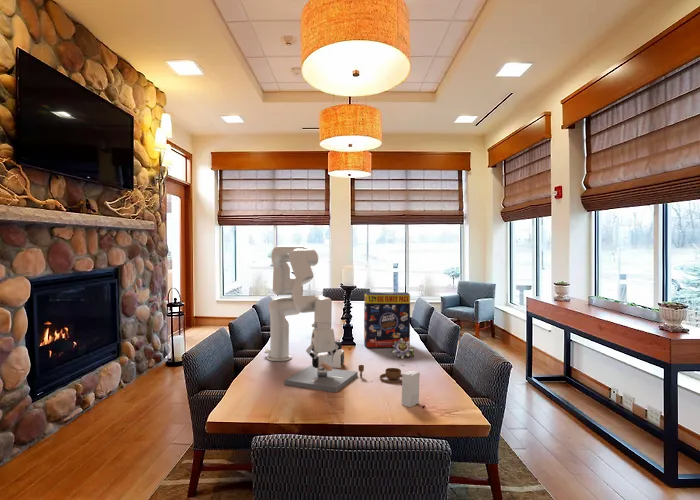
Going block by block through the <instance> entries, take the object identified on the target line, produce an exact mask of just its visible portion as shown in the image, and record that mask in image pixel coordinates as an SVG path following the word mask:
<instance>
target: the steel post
mask: <svg viewBox="0 0 700 500" xmlns="http://www.w3.org/2000/svg"><path fill="white" fill-rule="evenodd" d="M317 376H318V377H327V370H326V369H324V368H321V369H318V368H317Z"/></svg>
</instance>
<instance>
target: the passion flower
mask: <svg viewBox="0 0 700 500" xmlns="http://www.w3.org/2000/svg"><path fill="white" fill-rule="evenodd" d="M409 342H410V343H411V340H410V341H406V342H405V341H404V340H403V339H402V338H400V340H399V341H397V342H395V341H394V343H393V345H392V346H393V347H394V349H392V350H391V351H390V352H391V353H392V354H394V353H396V357H397V358H400V359H401V360H403V359H404V357H405V356H406V357H409V356H410V354H411V357H414V356H415V349H414V348H413V345H412V344H410V345H409ZM394 344H395V345H394Z"/></svg>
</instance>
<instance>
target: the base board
mask: <svg viewBox="0 0 700 500" xmlns="http://www.w3.org/2000/svg"><path fill="white" fill-rule="evenodd" d="M358 372H359V371H354V370H348V369H341V368H332V371H327V377H318V376H317V368H315V367H313V365H310V366H307V367H306V368H304V369H302V370H300V371H299V372H296V373H294V374H292V375H291V376H288V378H284V383H283V384H284V386H293V387H297V388H298V387H299V388H303V389H304V388H305V389H309V390H310V389H311V390H316V391H323V392H330V393H335V392H336V393H338V392H339V391H340V390H341V389H342V388H344V387H345V386H346V385H348V384H349V383H351V381H353V380H355V379H356V378H357V377H358Z"/></svg>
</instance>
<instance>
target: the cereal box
mask: <svg viewBox="0 0 700 500" xmlns="http://www.w3.org/2000/svg"><path fill="white" fill-rule="evenodd" d="M363 311H364V312H363V313H364V314H363V315H364V316H363V328H364V329H363V331H364V332H363V333H364V334H363V341H364V342H363V343H364V344H363V345H364V346H365V348H367V349H383V348H384V349H385V348H386V349H387V348H389V349H391V348H392V349H393V348H394V347H393V346H392V345H393V343H394V341H395V342H397V341H399V340H400V338H402V339H403V340H404V341H405V342H406V341H410V342H409V345H411V344H410V343H411V294H410V293H408V292H400V291H399V292H397V291H395V292H393V291H391V292H387V291H385V292H384V291H382V292H381V291H380V292H379V291H377V292H376V291H375V292H374V291H373V292H371V291H370V292H365V293H364V307H363ZM394 345H395V344H394Z"/></svg>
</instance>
